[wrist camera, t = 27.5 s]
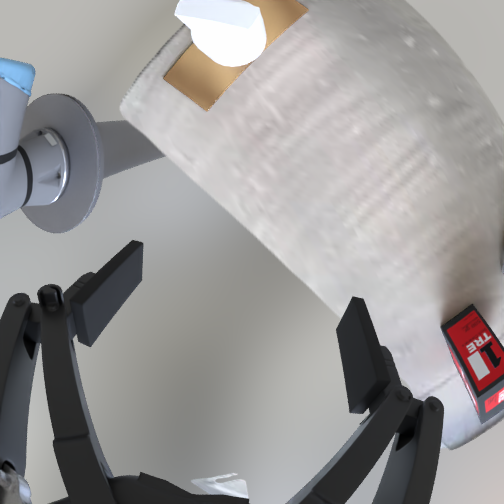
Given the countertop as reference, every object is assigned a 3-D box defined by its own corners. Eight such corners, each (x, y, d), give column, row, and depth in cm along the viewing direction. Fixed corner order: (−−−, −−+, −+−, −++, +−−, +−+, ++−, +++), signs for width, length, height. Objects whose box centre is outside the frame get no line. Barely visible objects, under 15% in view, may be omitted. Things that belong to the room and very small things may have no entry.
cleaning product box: (481, 343, 49) (514, 401, 31) (454, 363, 52) (481, 424, 34) (472, 303, 45) (516, 368, 27) (440, 327, 48) (477, 398, 30)
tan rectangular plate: (207, 111, 37) (206, 111, 36) (163, 78, 35) (163, 78, 34) (308, 10, 28) (308, 9, 28) (260, -20, 26) (260, -21, 26)
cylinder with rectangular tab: (194, 58, 33) (161, 37, 22) (217, 8, 29) (194, -26, 18) (252, 74, 33) (240, 54, 23) (275, 23, 30) (272, -12, 19)
